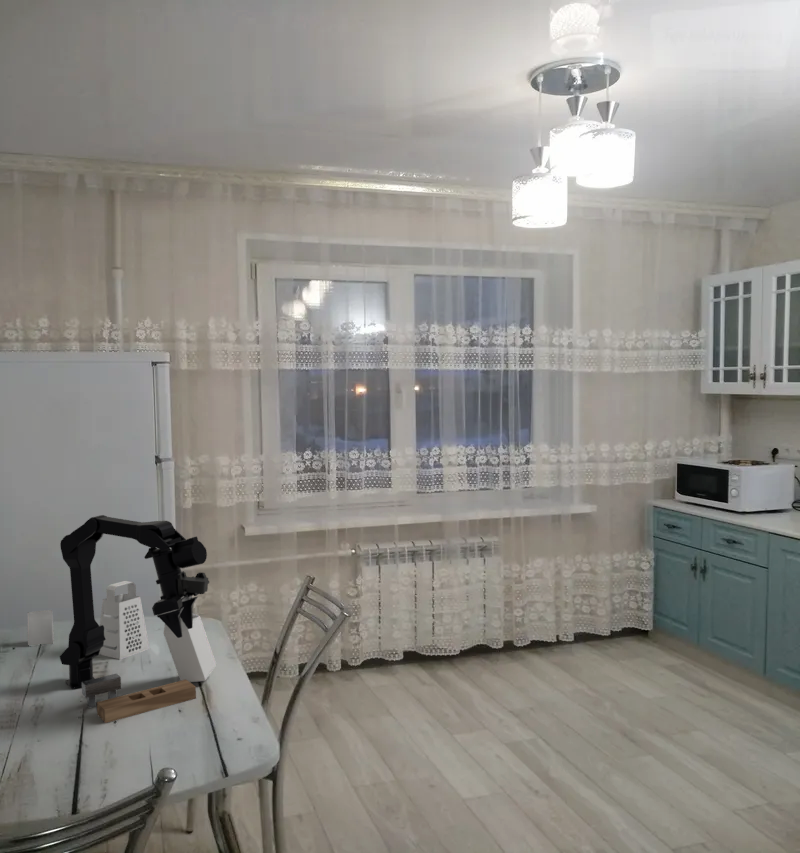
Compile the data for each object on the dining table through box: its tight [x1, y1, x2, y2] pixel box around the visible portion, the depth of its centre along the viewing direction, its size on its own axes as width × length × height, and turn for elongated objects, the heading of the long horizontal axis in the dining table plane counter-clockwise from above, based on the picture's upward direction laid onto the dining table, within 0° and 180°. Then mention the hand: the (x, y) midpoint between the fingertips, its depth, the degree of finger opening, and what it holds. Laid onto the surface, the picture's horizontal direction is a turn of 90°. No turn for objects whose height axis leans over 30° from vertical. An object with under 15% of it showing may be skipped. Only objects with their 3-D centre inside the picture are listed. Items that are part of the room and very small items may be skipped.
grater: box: [99, 580, 151, 660], centre depth 228 cm, size 10×10×20 cm
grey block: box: [81, 673, 122, 709], centre depth 191 cm, size 3×8×6 cm, turn 128°
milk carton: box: [163, 612, 217, 683], centre depth 203 cm, size 7×7×19 cm
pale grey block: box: [26, 609, 55, 646], centre depth 236 cm, size 4×7×10 cm, turn 109°
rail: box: [96, 680, 197, 724], centre depth 188 cm, size 6×22×3 cm, turn 128°
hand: (185, 632), depth 193 cm, fingers open, 8 cm apart
